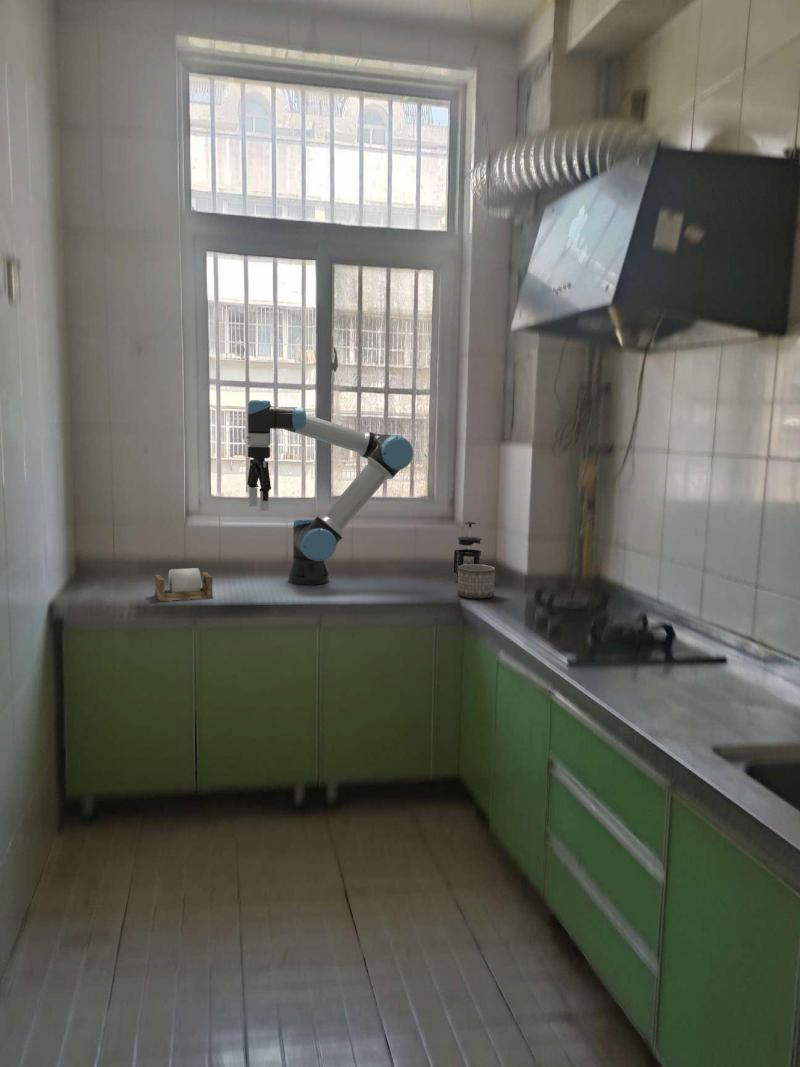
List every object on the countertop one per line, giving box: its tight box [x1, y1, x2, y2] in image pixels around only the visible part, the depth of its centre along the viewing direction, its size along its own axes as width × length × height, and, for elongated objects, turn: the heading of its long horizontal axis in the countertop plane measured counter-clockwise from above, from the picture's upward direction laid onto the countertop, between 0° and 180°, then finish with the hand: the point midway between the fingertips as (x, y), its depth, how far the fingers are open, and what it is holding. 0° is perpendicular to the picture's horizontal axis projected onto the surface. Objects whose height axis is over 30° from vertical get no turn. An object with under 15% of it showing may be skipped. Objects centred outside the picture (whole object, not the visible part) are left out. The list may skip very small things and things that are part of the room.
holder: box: [154, 571, 214, 602], centre depth 273 cm, size 17×11×7 cm, turn 116°
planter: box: [456, 563, 496, 599], centre depth 286 cm, size 13×13×10 cm
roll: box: [168, 567, 202, 593], centre depth 273 cm, size 9×8×8 cm
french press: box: [453, 521, 482, 584], centre depth 310 cm, size 12×9×23 cm
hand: (258, 508), depth 283 cm, fingers open, 13 cm apart
